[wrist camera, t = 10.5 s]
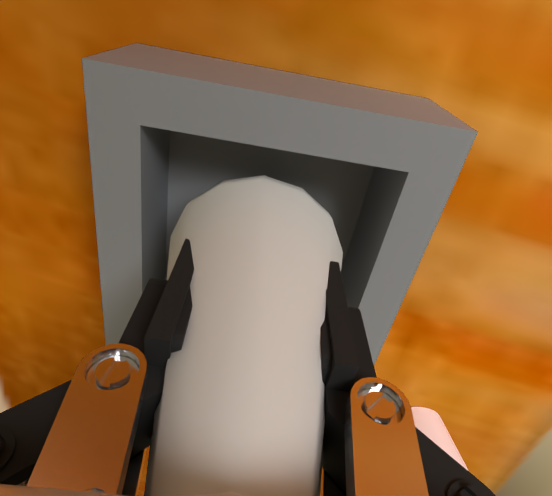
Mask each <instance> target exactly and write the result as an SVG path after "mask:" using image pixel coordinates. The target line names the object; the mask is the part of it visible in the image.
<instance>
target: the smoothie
mask: <svg viewBox="0 0 552 496" xmlns="http://www.w3.org/2000/svg"><path fill="white" fill-rule="evenodd" d="M411 409H412V414H413V419H414V424H415V427H416V428H418V429H419V430H420V431H421V432H422V433H424V434H425V435H426V436H427V437H428V438H429V439H431V440H432V441H433V442H434V443H435V444H437V445H438V446H439V447H440V448H441V449H443V450H444V451H445V452H446V453H447V454H448V455H450V456H451V457H452V458H453V459H454V460H456V461H457V462H458V463H459V464H460V465H462V466H463V467H464V468H465V469H466V470H468V469H467V467H466V465H465V463H464V461H463V459H462V457H461V455H460V454H459V452H458V450H457V448H456V446H455V444H454V442H453V440H452V438H451V436H450V435H449V433H448V431H447V429H446V427H445V425H444V423H443V421H442V419H441V417H440V416H439V414H438V413H437V412H435V411H434V410H431V409H429V408H425V407H411Z"/></svg>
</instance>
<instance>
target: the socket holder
mask: <svg viewBox="0 0 552 496" xmlns="http://www.w3.org/2000/svg"><path fill="white" fill-rule="evenodd" d="M82 65H83V77H84V89H85V101H86V113H87V125H88V138H89V150H90V162H91V174H92V186H93V198H94V210H95V222H96V234H97V247H98V259H99V271H100V283H101V295H102V307H103V319H104V331H105V344H106V345H108V344H118V343H119V341H120V339H121V337H122V334H123V332H124V330H125V328H126V326H127V324H128V322H129V320H130V318H131V316H132V314H133V312H134V310H135V308H136V306H137V303H138V301H139V299H140V297H141V295H142V293H143V291H144V289H145V287H146V285H147V283H148V281H149V279H151V278H157V279H163V280H167V270H168V259H169V248H170V237H171V234H172V232H173V230H174V228H175V226H176V224H177V222H178V220H179V218H180V216H181V214H182V212H183V210H184V208H185V207H186V205H187V204H188V203H189V202H190V201H191V200H192V199H194V198H195V197H197V196H199V195H200V194H202V193H204V192H205V191H207V190H209V189H210V188H212V187H214V186H215V185H217V184H219V183H220V182H222V181H224V180H231V179H238V178H246V177H254V176H261V175H266V176H267V177H270V178H273V179H276V180H279V181H282V182H285V183H288V184H291V185H294V186H297V187H300V188H303V189H304V190H305V191H306V192H307V193H308V194H309V195H310V196H311V197H312V198H313V199H314V200H316V201H317V202H318V203H319V204H320V205H321V206H322V207H323V208H324V209H325V210H326V211H327V212H329V214H330V216H331V218H332V220H333V223H334V226H335V229H336V232H337V235H338V238H339V241H340V244H341V247H342V251H343V258H342V267H341V276H342V281H343V286H344V291H345V296H346V301H347V305H348V307H354V308H358V309H359V310H360V312H361V315H362V319H363V323H364V327H365V331H366V336H367V340H368V344H369V348H370V352H371V357H372V361H373V365H374V364H375V362H376V360H377V357H378V355H379V353H380V351H381V348H382V346H383V344H384V342H385V339H386V337H387V335H388V333H389V331H390V328H391V326H392V324H393V322H394V319H395V317H396V315H397V313H398V310H399V308H400V306H401V304H402V301H403V299H404V297H405V295H406V292H407V290H408V288H409V286H410V283H411V281H412V279H413V277H414V274H415V272H416V270H417V268H418V265H419V263H420V261H421V259H422V256H423V254H424V252H425V250H426V247H427V245H428V243H429V241H430V238H431V236H432V234H433V232H434V230H435V227H436V225H437V223H438V221H439V218H440V216H441V214H442V212H443V209H444V207H445V205H446V203H447V200H448V198H449V196H450V194H451V191H452V189H453V187H454V185H455V182H456V180H457V178H458V176H459V173H460V171H461V169H462V167H463V164H464V162H465V160H466V158H467V155H468V153H469V151H470V149H471V146H472V144H473V142H474V140H475V138H476V135H477V133H478V132H477V131H476V130H474V129H473V128H471V127H470V126H469V125H467V124H466V123H464V122H463V121H461V120H460V119H458V118H457V117H455V116H454V115H452V114H451V113H449V112H448V111H446V110H445V109H443V108H442V107H440V106H439V105H438V104H436V103H435V102H433V101H432V100H430V99H428V98H423V97H418V96H412V95H407V94H402V93H397V92H391V91H386V90H381V89H376V88H370V87H365V86H360V85H355V84H349V83H344V82H339V81H334V80H328V79H323V78H318V77H313V76H308V75H302V74H297V73H292V72H287V71H281V70H276V69H271V68H266V67H260V66H255V65H250V64H245V63H239V62H234V61H229V60H224V59H218V58H213V57H208V56H203V55H197V54H192V53H187V52H182V51H176V50H171V49H166V48H161V47H155V46H150V45H145V44H140V43H135V44H131V45H127V46H124V47H120V48H117V49H113V50H110V51H106V52H102V53H99V54H95V55H92V56H88V57H85V58H82Z"/></svg>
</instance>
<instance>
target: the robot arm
mask: <svg viewBox="0 0 552 496" xmlns="http://www.w3.org/2000/svg"><path fill="white" fill-rule="evenodd" d="M193 273H194V264H193V257H192V251H191V244H190V240H189V239H185V241H184V243H183V246H182V248H181V250H180V253H179V255H178V258H177V260H176V262H175V265H174V267H173V270H172V272H171V274H170V277H169V279H168V280H163V279H157V278H151V279H149V281H148V283H147V285H146V287H145V289H144V291H143V293H142V295H141V297H140V299H139V301H138V303H137V306H136V308H135V310H134V312H133V314H132V316H131V318H130V320H129V322H128V324H127V326H126V328H125V330H124V332H123V334H122V337H121V339H120V341H119V343H118V344H108V345H104V346H101V347H98V348H97V349H95V350H93V351H91V352H90V353H88V354H87V355H86V356H85V357H84V358H83V359H82V360H81V362H80V363H79V365H78V367H77V369H76V371H75V374H74V376H73V378H72V380H70V381H68V382H66V383H64V384H62V385H60V386H58V387H55V388H53V389H51V390H49V391H47V392H45V393H42V394H40V395H38V396H36V397H34V398H32V399H30V400H27V401H25V402H23V403H21V404H19V405H17V406H15V407H12V408H10V409H8V410H6V411H4V412H2V413H0V496H138V493H139V488H140V483H141V478H142V473H143V468H144V463H145V458H146V453H147V447H148V446H150V443H151V437H152V433H153V423H154V413H155V411H156V409H157V407H158V405H159V403H160V401H161V397H162V392H163V386H164V377H165V368H166V364H167V360H168V359H170V356H171V353H173V352H177V351H180V350H182V346H183V342H184V338H185V334H186V331H187V327H188V323H189V319H190V315H191V311H192V307H193V305H192V297H191V289H190V283H191V280H192V276H193ZM320 331H321V354H322V361H321V372H322V381H323V383H324V385H325V425H324V434H323V463H322V476H321V489H320V496H495V495H494V494H493V492H492V491H491V490H490V489H489V488H488V487H487V486H485V485H484V484H483V483H482V482H481V481H479V480H478V479H477V478H476V477H475V476H473V475H472V474H471V473H470V472H469V471H468V470H466V469H465V468H464V467H463V466H462V465H460V464H459V463H458V462H457V461H456V460H454V459H453V458H452V457H451V456H450V455H448V454H447V453H446V452H445V451H444V450H443V449H441V448H440V447H439V446H438V445H437V444H435V443H434V442H433V441H432V440H431V439H429V438H428V437H427V436H426V435H425V434H424V433H422V432H421V431H420V430H419V429H418V428H416V427H415V424H414V419H413V414H412V409H411V406H410V404H409V401H408V399H407V398H406V397H405V395H404V394H403V392H401V391H400V390H399V389H398V388H397V387H396V386H395V385H393V384H391V383H390V382H388V381H386V380H383V379H380V378H377V377H376V373H375V369H374V365H373V361H372V357H371V352H370V348H369V344H368V340H367V336H366V331H365V327H364V323H363V319H362V315H361V312H360V310H359V309H358V308H354V307H348V305H347V301H346V296H345V291H344V286H343V281H342V276H341V271H340V266H339V263H338V262H334V261H330V265H329V274H328V284H327V289H326V311H325V320H324V322H323V324H322V326H321V327H320Z"/></svg>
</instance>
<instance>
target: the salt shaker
mask: <svg viewBox="0 0 552 496" xmlns="http://www.w3.org/2000/svg"><path fill="white" fill-rule="evenodd" d="M185 239H189V240H190V244H191V251H192V257H193V264H194V273H193V276H192V280H191V283H190V289H191V297H192V305H193V307H192V311H191V315H190V319H189V323H188V327H187V331H186V334H185V338H184V342H183V346H182V350H180V351H177V352H173V353H171V356H170V359H168V360H167V364H166V368H165V377H164V386H163V392H162V397H161V401H160V403H159V405H158V407H157V409H156V411H155V413H154V423H153V433H152V437H151V443H150V451H149V459H148V467H147V476H146V484H145V492H144V496H320V489H321V476H322V463H323V434H324V425H325V385H324V383H323V381H322V372H321V361H322V354H321V331H320V327H321V326H322V324H323V322H324V320H325V311H326V289H327V284H328V274H329V265H330V261H334V262H338V263H339V266H340V271H341V267H342V258H343V251H342V247H341V244H340V241H339V238H338V235H337V232H336V229H335V226H334V223H333V220H332V218H331V216H330V214H329V212H327V211H326V210H325V209H324V208H323V207H322V206H321V205H320V204H319V203H318V202H317V201H316V200H314V199H313V198H312V197H311V196H310V195H309V194H308V193H307V192H306V191H305V190H304V189H303V188H300V187H297V186H294V185H291V184H288V183H285V182H282V181H279V180H276V179H273V178H270V177H267V176H266V175H261V176H254V177H246V178H238V179H231V180H224V181H222V182H220V183H219V184H217V185H215V186H214V187H212V188H210V189H209V190H207V191H205V192H204V193H202V194H200V195H199V196H197V197H195V198H194V199H192V200H191V201H190V202H189V203H188V204H187V205H186V207H185V208H184V210H183V212H182V214H181V216H180V218H179V220H178V222H177V224H176V226H175V228H174V230H173V232H172V234H171V237H170V248H169V259H168V270H167V280H168V279H169V277H170V274H171V272H172V270H173V267H174V265H175V262H176V260H177V258H178V255H179V253H180V250H181V248H182V246H183V243H184V241H185Z"/></svg>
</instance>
